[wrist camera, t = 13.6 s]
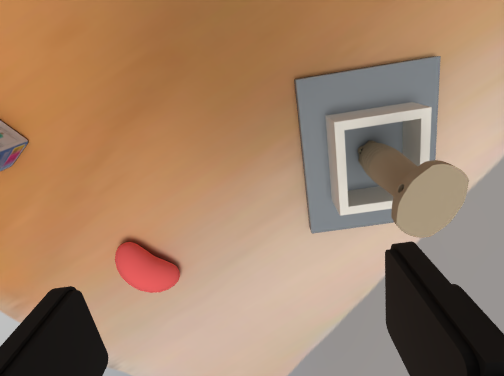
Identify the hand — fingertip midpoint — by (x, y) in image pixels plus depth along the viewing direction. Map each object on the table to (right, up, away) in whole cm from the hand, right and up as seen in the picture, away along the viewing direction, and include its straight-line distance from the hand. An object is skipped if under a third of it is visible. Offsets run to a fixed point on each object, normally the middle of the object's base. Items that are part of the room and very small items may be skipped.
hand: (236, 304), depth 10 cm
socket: (+15, +8, +31) cm, 36 cm away
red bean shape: (-14, -7, +38) cm, 41 cm away
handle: (+15, +8, +30) cm, 34 cm away
